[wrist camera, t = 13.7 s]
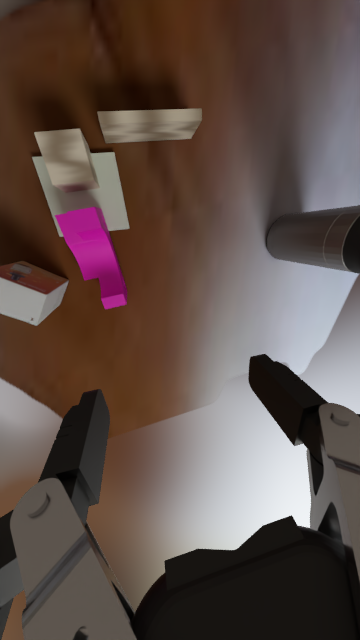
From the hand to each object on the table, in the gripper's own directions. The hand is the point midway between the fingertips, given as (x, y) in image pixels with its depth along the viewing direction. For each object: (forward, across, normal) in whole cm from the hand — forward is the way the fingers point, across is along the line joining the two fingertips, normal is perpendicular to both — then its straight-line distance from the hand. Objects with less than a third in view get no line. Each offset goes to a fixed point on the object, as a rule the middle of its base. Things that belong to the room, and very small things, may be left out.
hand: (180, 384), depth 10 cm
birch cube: (+30, +8, -15) cm, 34 cm away
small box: (+33, +20, -1) cm, 39 cm away
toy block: (+33, +8, -4) cm, 34 cm away
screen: (+33, -4, -22) cm, 40 cm away
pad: (+33, +8, -14) cm, 37 cm away
